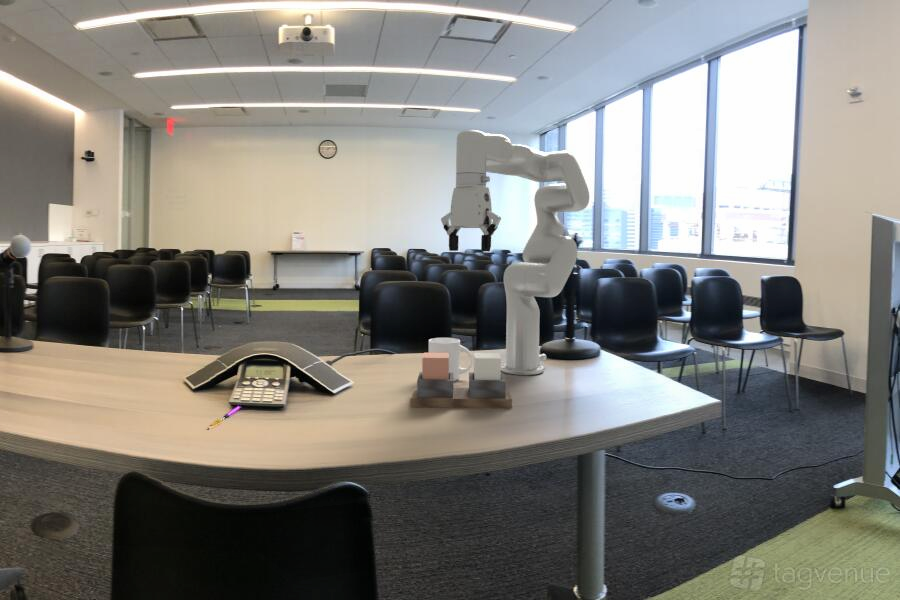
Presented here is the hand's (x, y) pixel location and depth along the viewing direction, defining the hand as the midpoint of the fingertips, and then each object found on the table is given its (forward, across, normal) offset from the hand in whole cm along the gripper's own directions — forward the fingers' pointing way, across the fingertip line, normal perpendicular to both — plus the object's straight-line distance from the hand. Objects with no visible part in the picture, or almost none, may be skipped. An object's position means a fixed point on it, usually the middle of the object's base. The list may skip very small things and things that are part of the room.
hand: (469, 251), depth 144 cm
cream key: (+30, -11, +8) cm, 33 cm away
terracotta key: (+31, -1, +14) cm, 34 cm away
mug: (+35, +9, -5) cm, 37 cm away
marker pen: (+37, +27, +50) cm, 68 cm away
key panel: (+35, -6, +11) cm, 37 cm away
